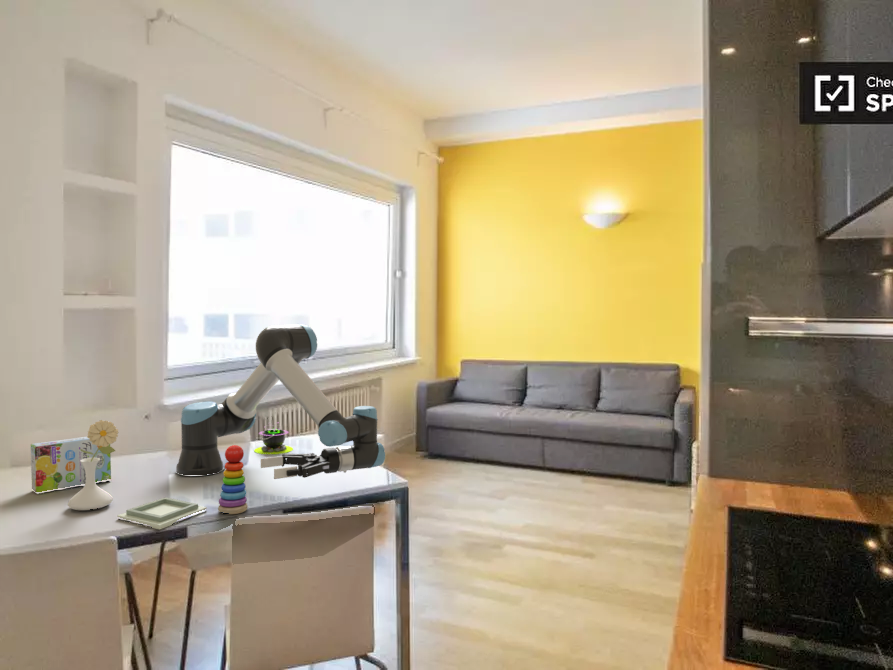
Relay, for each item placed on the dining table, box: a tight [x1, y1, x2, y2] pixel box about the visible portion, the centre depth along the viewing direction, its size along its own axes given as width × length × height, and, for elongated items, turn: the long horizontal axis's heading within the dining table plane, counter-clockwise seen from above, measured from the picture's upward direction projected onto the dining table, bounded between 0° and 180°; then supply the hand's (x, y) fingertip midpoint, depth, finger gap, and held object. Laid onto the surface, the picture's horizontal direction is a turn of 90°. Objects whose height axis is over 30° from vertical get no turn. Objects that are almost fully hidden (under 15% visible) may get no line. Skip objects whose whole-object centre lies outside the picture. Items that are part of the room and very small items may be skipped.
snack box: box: [30, 436, 112, 492], centre depth 204 cm, size 21×6×15 cm, turn 134°
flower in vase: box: [67, 419, 119, 511], centre depth 185 cm, size 13×11×25 cm
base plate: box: [117, 496, 207, 530], centre depth 179 cm, size 16×16×2 cm
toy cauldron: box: [253, 421, 294, 455], centre depth 257 cm, size 15×15×11 cm
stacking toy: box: [217, 444, 249, 515], centre depth 183 cm, size 8×8×19 cm
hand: (267, 468), depth 188 cm, fingers open, 13 cm apart
